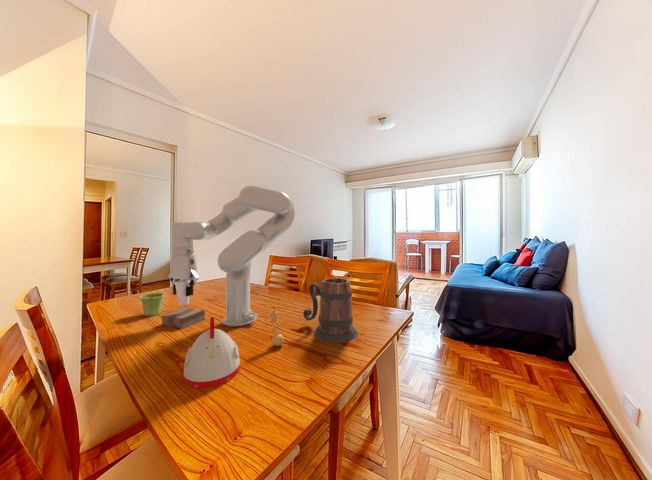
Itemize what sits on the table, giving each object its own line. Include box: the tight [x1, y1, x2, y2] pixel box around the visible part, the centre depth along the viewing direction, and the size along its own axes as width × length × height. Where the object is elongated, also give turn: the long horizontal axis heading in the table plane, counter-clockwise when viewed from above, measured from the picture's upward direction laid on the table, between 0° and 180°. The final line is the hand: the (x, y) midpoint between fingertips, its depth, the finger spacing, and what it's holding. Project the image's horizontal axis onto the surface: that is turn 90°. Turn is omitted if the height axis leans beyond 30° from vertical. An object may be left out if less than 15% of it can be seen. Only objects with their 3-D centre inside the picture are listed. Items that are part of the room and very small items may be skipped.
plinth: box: [161, 307, 206, 329], centre depth 106 cm, size 11×11×4 cm
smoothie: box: [174, 280, 190, 306], centre depth 105 cm, size 6×6×14 cm
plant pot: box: [139, 292, 166, 317], centre depth 115 cm, size 9×9×9 cm
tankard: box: [302, 277, 359, 344], centre depth 97 cm, size 24×17×20 cm
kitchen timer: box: [183, 316, 241, 389], centre depth 68 cm, size 14×14×15 cm
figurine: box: [264, 308, 287, 347], centre depth 85 cm, size 8×6×12 cm
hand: (183, 294), depth 105 cm, fingers closed on smoothie, 6 cm apart
